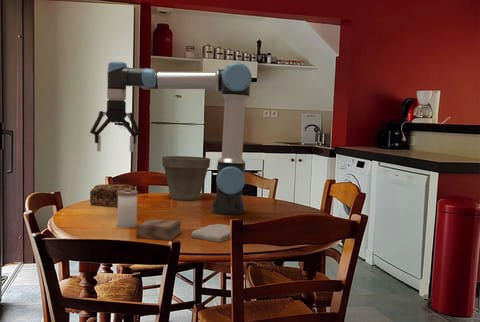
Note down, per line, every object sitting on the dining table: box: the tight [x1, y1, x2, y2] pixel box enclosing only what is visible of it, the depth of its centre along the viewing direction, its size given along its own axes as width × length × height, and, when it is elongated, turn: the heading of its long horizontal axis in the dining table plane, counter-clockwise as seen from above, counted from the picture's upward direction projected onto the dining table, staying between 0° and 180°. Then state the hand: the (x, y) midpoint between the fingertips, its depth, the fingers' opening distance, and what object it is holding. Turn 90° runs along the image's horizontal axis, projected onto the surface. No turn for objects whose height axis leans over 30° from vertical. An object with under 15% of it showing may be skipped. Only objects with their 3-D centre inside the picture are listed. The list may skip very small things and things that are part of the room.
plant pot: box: [161, 155, 211, 201], centre depth 247 cm, size 25×25×22 cm
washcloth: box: [190, 223, 231, 243], centre depth 168 cm, size 12×18×3 cm, turn 153°
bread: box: [89, 183, 136, 208], centre depth 219 cm, size 19×11×10 cm, turn 78°
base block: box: [136, 218, 181, 241], centre depth 165 cm, size 12×12×4 cm
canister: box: [116, 188, 139, 229], centre depth 177 cm, size 7×7×14 cm
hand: (115, 151), depth 196 cm, fingers open, 13 cm apart
